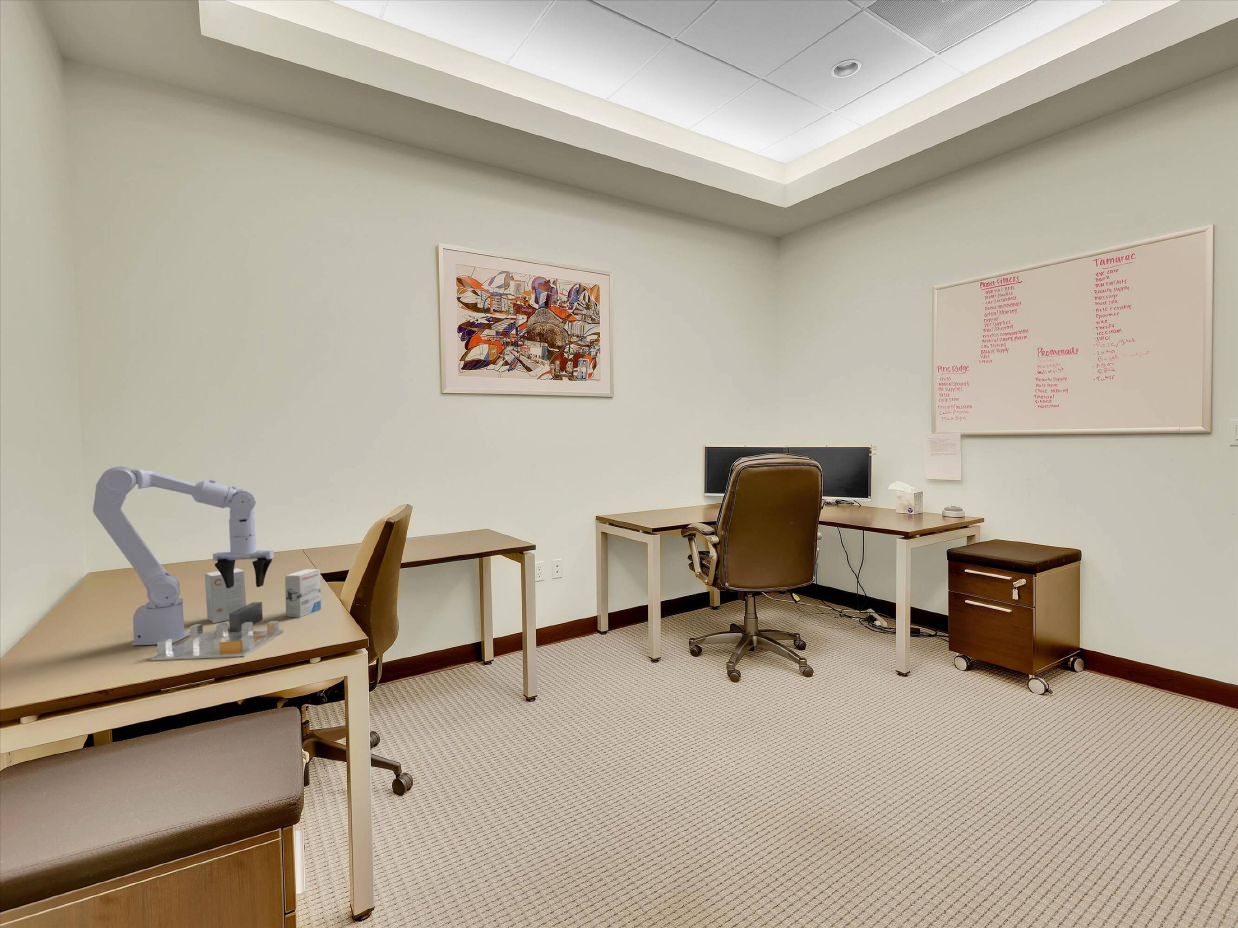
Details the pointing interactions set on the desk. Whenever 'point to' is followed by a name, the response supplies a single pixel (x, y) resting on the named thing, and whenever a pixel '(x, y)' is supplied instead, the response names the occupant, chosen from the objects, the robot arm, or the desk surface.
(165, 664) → the desk surface
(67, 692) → the desk surface
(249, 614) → the panel
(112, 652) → the desk surface
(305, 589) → the ink box
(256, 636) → the rack
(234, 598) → the small box
